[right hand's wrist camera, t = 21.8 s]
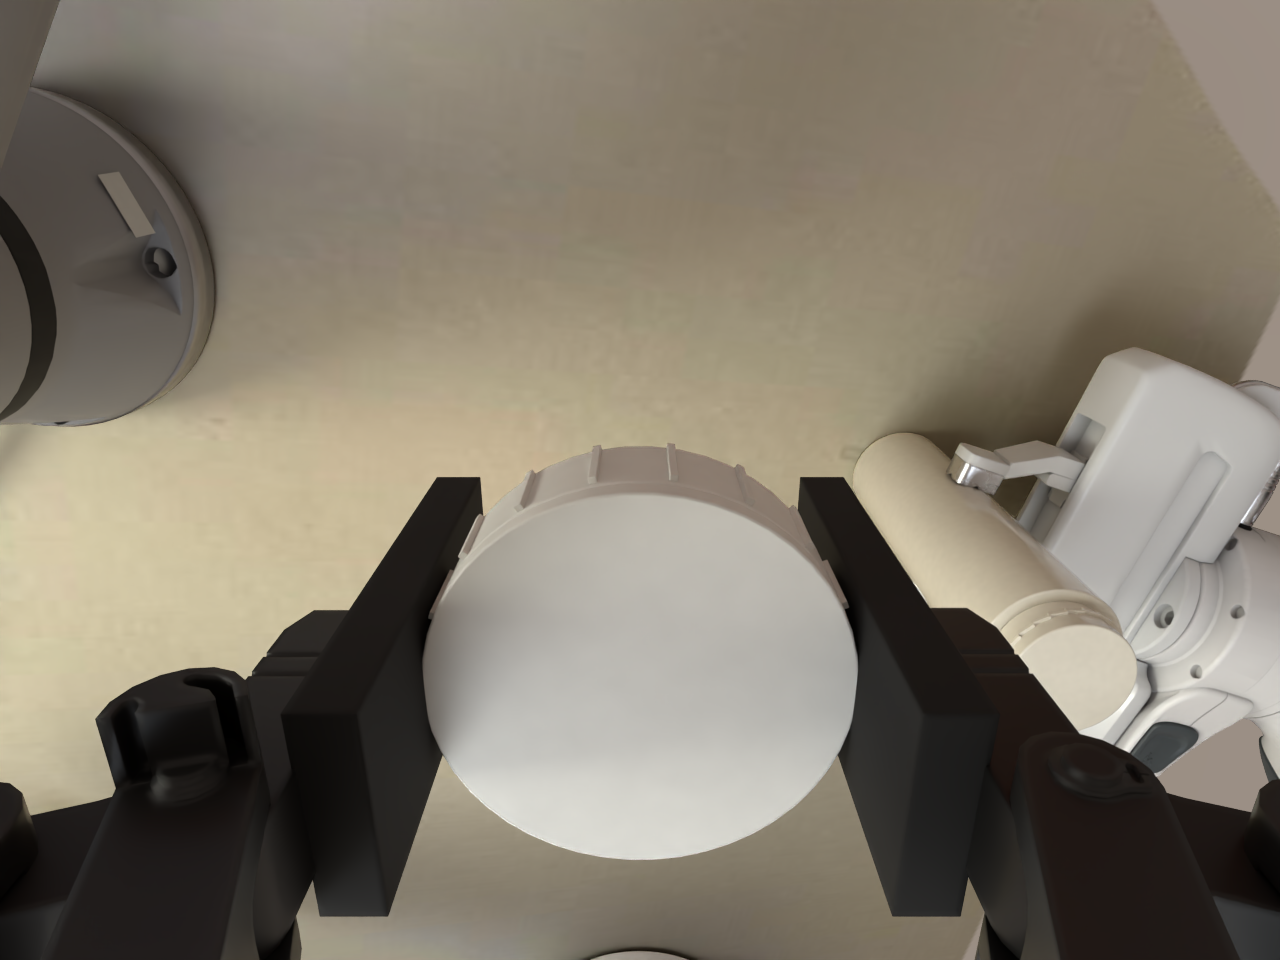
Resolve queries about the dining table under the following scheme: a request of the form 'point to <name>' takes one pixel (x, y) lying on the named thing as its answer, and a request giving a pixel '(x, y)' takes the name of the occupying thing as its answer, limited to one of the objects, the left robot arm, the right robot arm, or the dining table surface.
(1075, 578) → the jar
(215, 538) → the dining table surface
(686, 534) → the lid
